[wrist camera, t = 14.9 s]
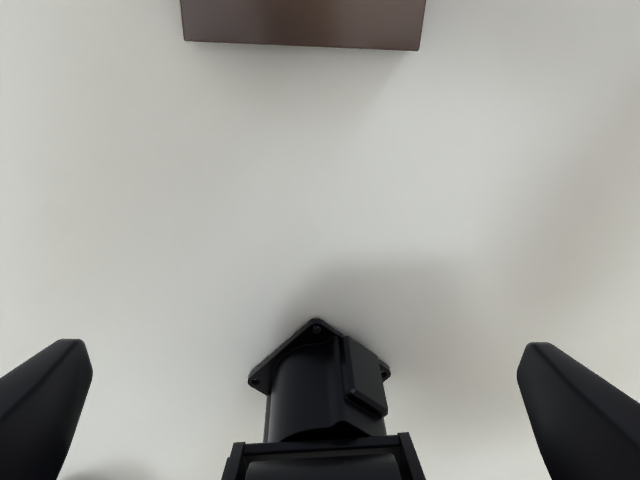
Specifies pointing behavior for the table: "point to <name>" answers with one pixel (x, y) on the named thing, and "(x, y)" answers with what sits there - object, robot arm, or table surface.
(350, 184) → the table surface
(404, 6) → the switch bracket
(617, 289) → the table surface
